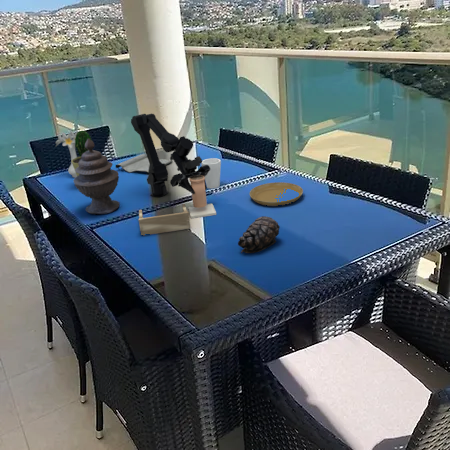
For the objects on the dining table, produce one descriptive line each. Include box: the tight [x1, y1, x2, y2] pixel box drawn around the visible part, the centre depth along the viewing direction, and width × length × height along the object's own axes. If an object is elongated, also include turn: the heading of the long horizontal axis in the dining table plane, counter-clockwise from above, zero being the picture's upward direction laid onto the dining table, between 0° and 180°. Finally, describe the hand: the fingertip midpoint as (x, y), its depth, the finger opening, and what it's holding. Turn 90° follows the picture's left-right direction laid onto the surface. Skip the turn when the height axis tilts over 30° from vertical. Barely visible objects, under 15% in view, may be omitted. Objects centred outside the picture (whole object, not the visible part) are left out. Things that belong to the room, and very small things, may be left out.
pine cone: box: [237, 215, 281, 254], centre depth 175 cm, size 10×18×10 cm, turn 143°
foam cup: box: [200, 157, 222, 189], centre depth 236 cm, size 10×9×13 cm
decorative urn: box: [73, 138, 121, 215], centre depth 215 cm, size 20×20×34 cm
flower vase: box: [55, 130, 88, 178], centre depth 268 cm, size 13×18×25 cm
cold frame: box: [138, 203, 191, 236], centre depth 201 cm, size 18×20×7 cm
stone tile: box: [187, 203, 217, 219], centre depth 210 cm, size 11×11×1 cm
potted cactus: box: [71, 129, 93, 176], centre depth 249 cm, size 15×15×30 cm
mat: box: [115, 153, 174, 174], centre depth 277 cm, size 23×24×5 cm
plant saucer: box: [249, 181, 304, 207], centre depth 218 cm, size 24×24×3 cm
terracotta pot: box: [188, 175, 208, 208], centre depth 207 cm, size 7×7×13 cm
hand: (200, 191), depth 206 cm, fingers closed on terracotta pot, 6 cm apart
